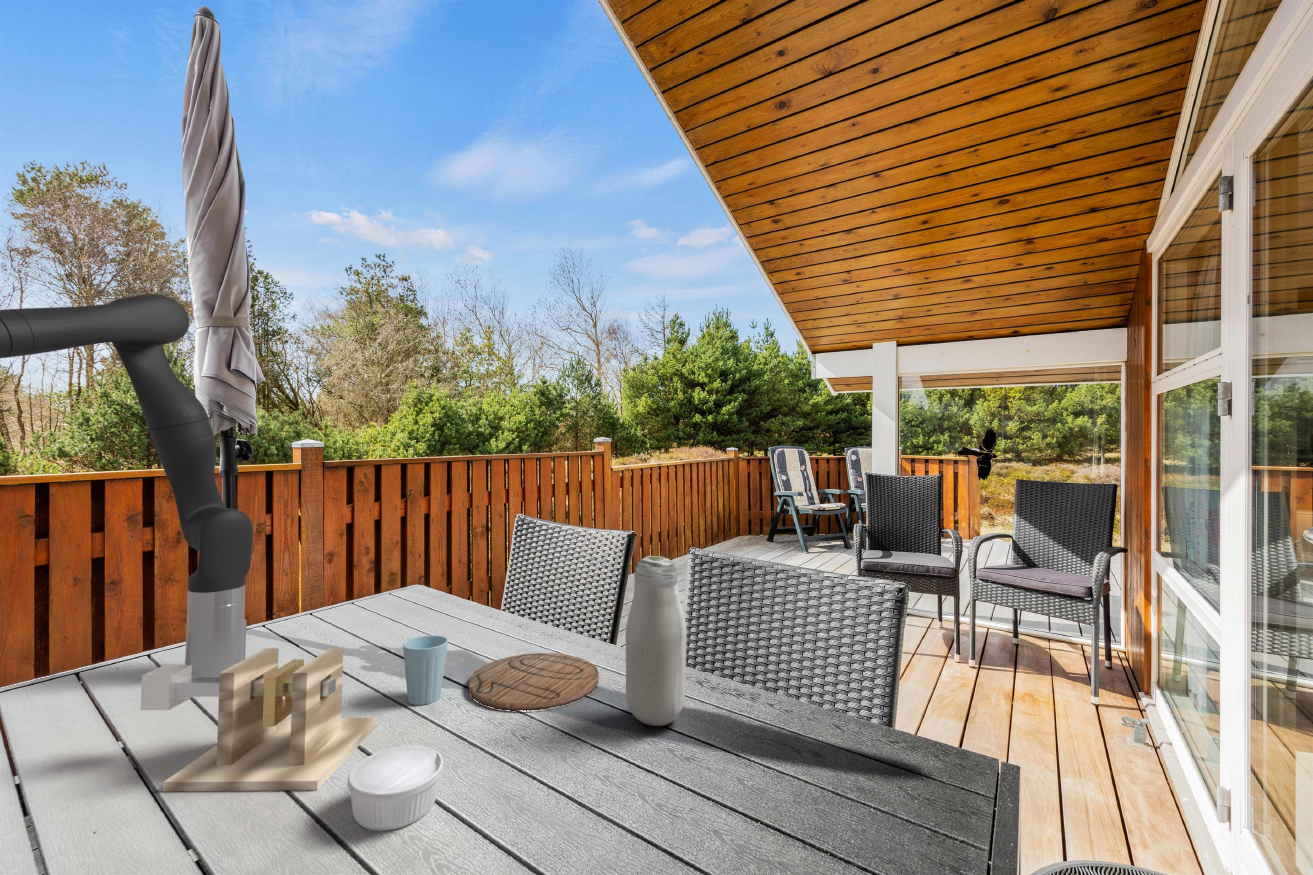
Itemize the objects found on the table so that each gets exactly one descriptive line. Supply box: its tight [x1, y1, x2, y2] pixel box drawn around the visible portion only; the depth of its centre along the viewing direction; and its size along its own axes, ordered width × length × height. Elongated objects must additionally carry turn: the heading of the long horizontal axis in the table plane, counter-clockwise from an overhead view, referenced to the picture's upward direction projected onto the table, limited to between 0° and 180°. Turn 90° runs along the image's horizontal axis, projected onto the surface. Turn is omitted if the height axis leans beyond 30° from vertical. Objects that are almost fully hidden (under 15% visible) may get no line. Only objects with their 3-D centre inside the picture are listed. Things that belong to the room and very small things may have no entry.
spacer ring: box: [263, 658, 305, 727], centre depth 85 cm, size 2×7×7 cm, turn 2°
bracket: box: [162, 647, 379, 792], centre depth 85 cm, size 20×18×14 cm
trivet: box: [468, 652, 600, 711], centre depth 112 cm, size 25×25×2 cm
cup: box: [402, 634, 449, 706], centre depth 104 cm, size 8×8×10 cm
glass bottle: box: [624, 555, 687, 727], centre depth 97 cm, size 10×10×28 cm
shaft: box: [140, 664, 336, 711], centre depth 85 cm, size 26×4×5 cm, turn 92°
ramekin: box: [347, 744, 444, 832], centre depth 73 cm, size 11×11×5 cm
